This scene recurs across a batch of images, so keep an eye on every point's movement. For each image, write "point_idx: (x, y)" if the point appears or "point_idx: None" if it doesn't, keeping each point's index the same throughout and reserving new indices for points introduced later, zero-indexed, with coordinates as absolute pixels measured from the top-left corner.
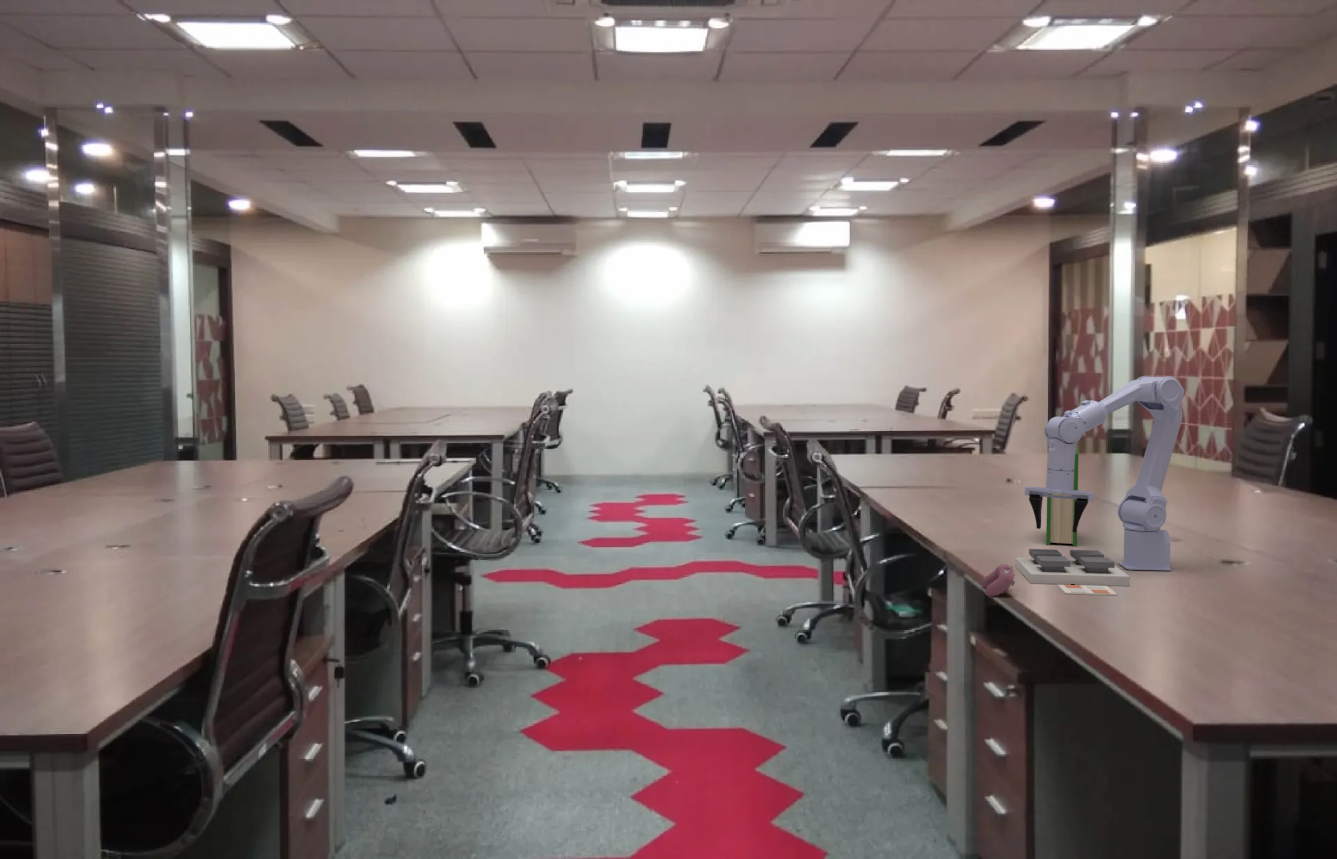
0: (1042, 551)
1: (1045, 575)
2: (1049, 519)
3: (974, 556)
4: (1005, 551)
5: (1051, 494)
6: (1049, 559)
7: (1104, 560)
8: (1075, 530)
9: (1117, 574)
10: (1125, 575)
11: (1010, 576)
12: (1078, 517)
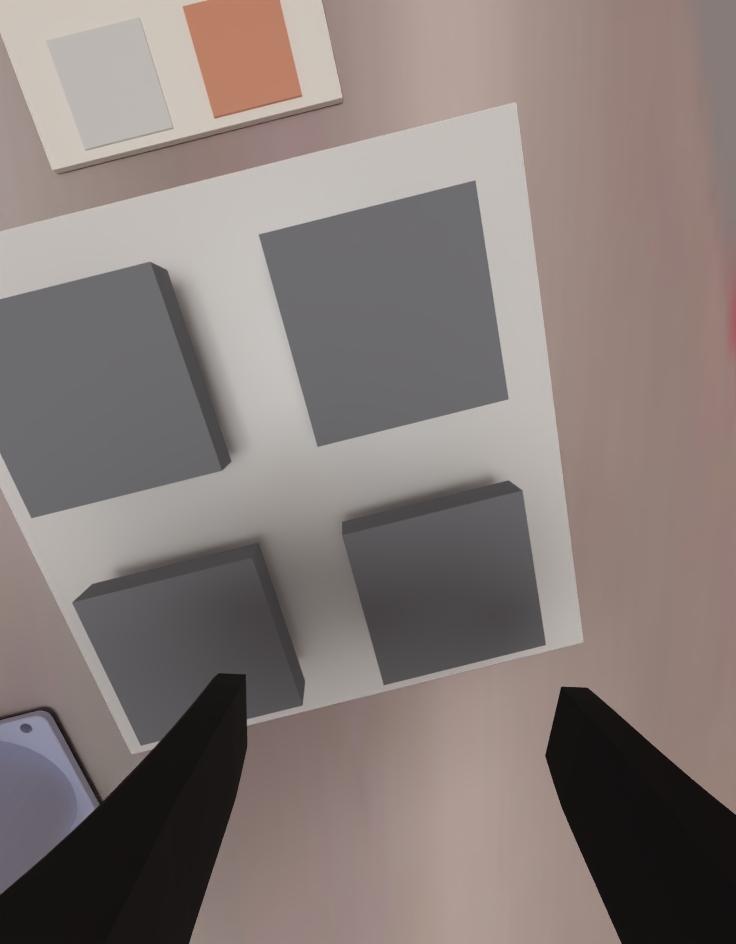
0: (466, 588)
1: (422, 129)
2: None
3: (725, 764)
4: (588, 904)
5: None
6: (416, 269)
7: (24, 379)
8: (211, 684)
9: None
10: None
11: None
12: (103, 818)
